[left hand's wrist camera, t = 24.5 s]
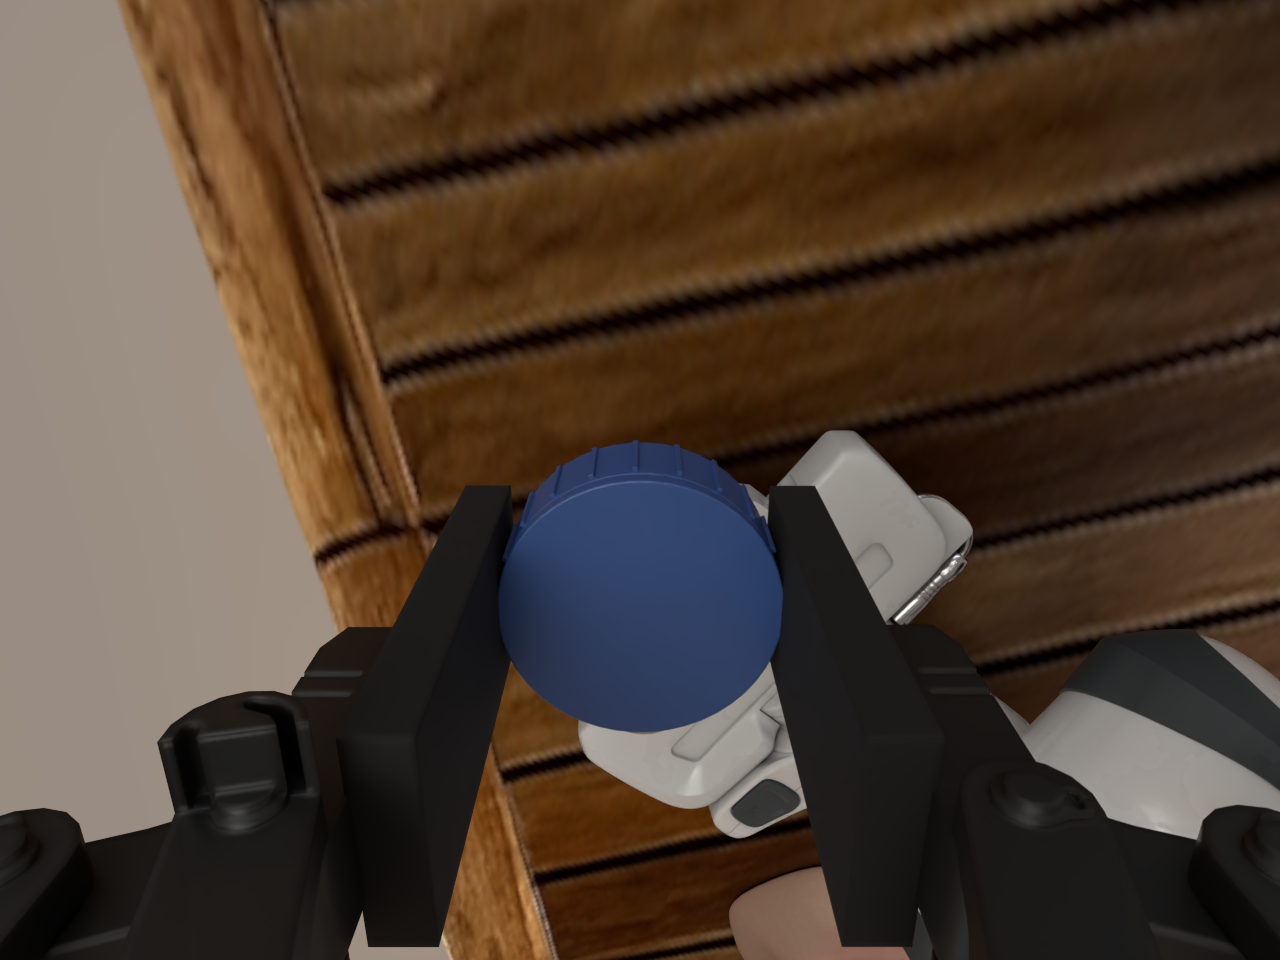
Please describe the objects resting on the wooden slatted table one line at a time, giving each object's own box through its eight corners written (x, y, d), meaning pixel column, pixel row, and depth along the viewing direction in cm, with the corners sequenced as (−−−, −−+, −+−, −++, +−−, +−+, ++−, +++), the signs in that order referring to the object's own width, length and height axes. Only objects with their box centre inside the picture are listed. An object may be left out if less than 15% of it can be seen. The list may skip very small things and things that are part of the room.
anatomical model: (703, 977, 53) (850, 878, 50) (697, 923, 56) (834, 828, 54) (834, 1083, 56) (978, 996, 54) (821, 1025, 60) (955, 941, 57)
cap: (801, 464, 14) (822, 507, 12) (738, 691, 16) (750, 755, 14) (529, 415, 14) (515, 452, 12) (494, 652, 15) (477, 712, 14)
